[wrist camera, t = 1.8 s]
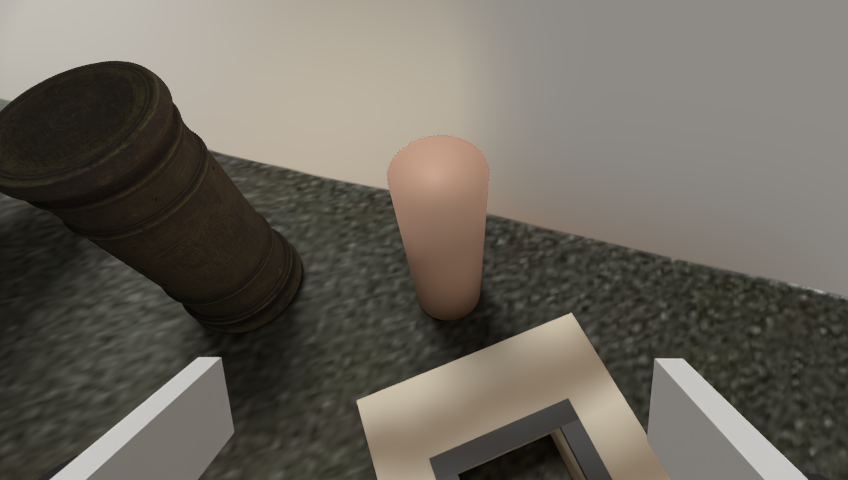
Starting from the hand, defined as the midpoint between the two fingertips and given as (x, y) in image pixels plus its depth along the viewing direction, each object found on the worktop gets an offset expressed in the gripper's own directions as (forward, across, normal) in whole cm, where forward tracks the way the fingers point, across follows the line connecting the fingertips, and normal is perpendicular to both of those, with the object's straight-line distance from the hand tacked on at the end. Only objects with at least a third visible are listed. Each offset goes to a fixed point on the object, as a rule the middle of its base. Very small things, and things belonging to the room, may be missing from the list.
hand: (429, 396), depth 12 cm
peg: (+19, 0, -4) cm, 20 cm away
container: (+20, -17, -3) cm, 26 cm away
